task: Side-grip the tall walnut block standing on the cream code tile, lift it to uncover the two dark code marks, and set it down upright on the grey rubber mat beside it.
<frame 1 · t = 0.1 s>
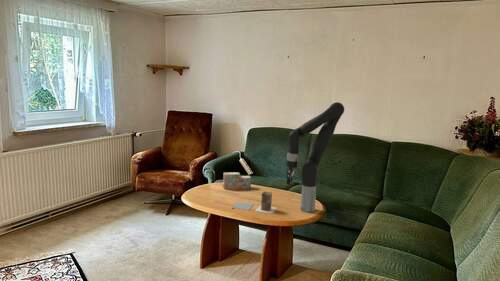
hand: (289, 183, 250), 17 cm above the table, tool pointing down, fingers open, 8 cm apart
grey mat: (243, 206, 250), on the table
stack of blocks: (236, 188, 294), on the table
walnut block: (266, 209, 245), point 1 cm above the table, touching code tile
code tile: (266, 210, 245), on the table
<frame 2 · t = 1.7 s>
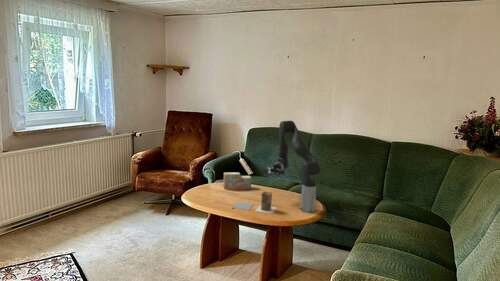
hand: (272, 173, 256), 22 cm above the table, tool horizontal, fingers open, 8 cm apart
nothing on the table moved.
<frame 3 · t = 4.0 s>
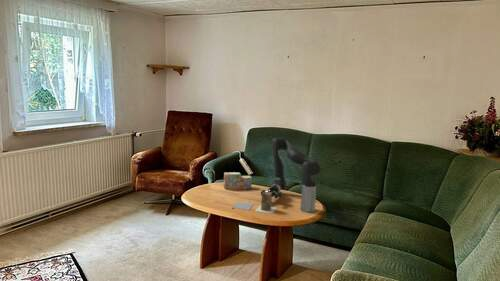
hand: (269, 196, 252), 7 cm above the table, tool horizontal, fingers open, 8 cm apart
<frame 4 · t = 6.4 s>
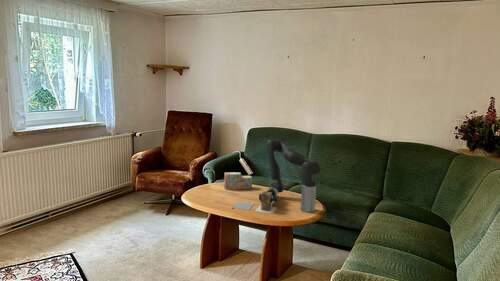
hand: (265, 200, 242), 7 cm above the table, tool horizontal, fingers closed on walnut block, 5 cm apart
walnut block: (266, 209, 245), point 1 cm above the table, touching code tile, gripper
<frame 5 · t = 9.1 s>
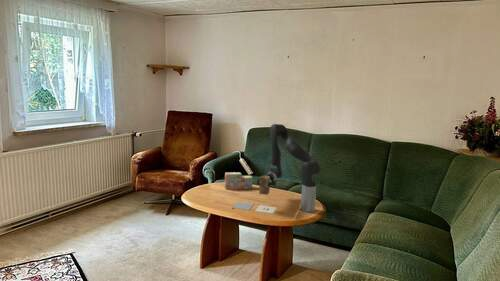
hand: (263, 184, 241), 18 cm above the table, tool horizontal, fingers closed on walnut block, 5 cm apart
walnut block: (264, 193, 244), point 11 cm above the table, touching gripper
when the fingers open (8 cm above the table, at t = 12.2 s): walnut block drops 1 cm, resting on grey mat.
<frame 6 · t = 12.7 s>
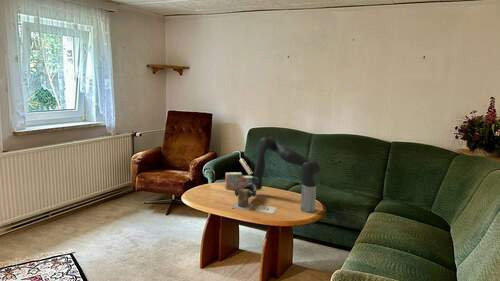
hand: (242, 195, 247), 8 cm above the table, tool horizontal, fingers open, 8 cm apart
walnut block: (243, 205, 250), point 1 cm above the table, touching grey mat
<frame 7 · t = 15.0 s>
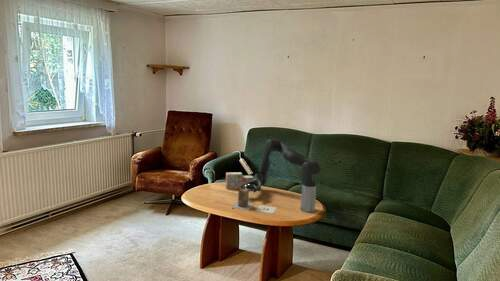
hand: (248, 190, 259), 9 cm above the table, tool horizontal, fingers open, 8 cm apart
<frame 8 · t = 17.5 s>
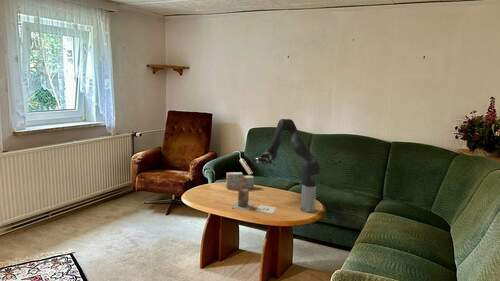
hand: (259, 162, 260), 28 cm above the table, tool horizontal, fingers open, 8 cm apart
at the end: walnut block inside the target area on the grey mat (0.1 cm from its centre), point 0.8 cm above the grey mat's base; walnut block tilted 0°; walnut block touching grey mat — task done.
